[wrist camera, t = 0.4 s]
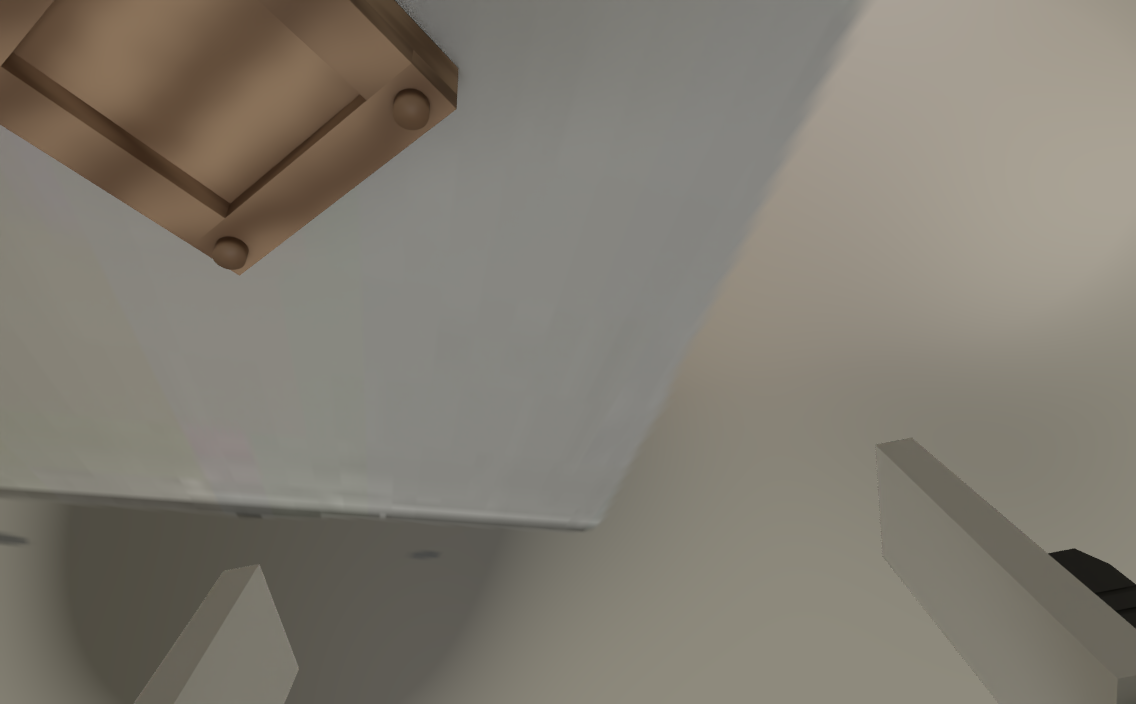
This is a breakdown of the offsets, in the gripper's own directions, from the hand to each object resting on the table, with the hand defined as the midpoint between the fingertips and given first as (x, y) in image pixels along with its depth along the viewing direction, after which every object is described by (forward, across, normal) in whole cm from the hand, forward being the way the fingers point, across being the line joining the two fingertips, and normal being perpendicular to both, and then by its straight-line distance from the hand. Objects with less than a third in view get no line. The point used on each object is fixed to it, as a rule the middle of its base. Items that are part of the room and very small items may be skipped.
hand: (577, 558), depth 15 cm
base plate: (+33, -17, +16) cm, 41 cm away
